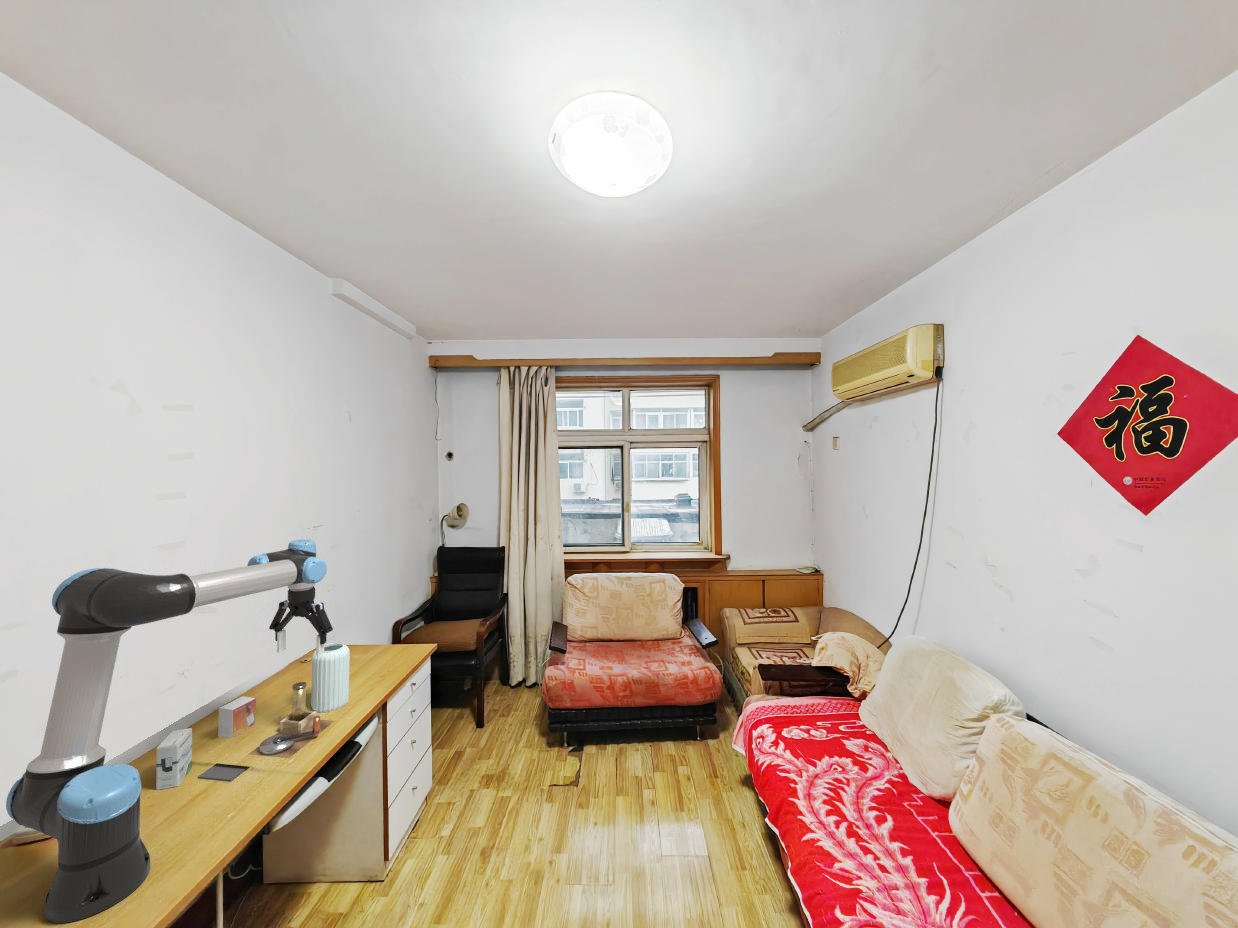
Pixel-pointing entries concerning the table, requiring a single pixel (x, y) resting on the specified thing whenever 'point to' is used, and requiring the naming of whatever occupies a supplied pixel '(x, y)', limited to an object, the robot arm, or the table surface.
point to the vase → (330, 678)
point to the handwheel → (286, 739)
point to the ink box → (173, 758)
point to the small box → (236, 717)
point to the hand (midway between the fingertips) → (300, 652)
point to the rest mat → (223, 772)
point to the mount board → (296, 742)
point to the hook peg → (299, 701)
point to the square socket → (297, 723)
